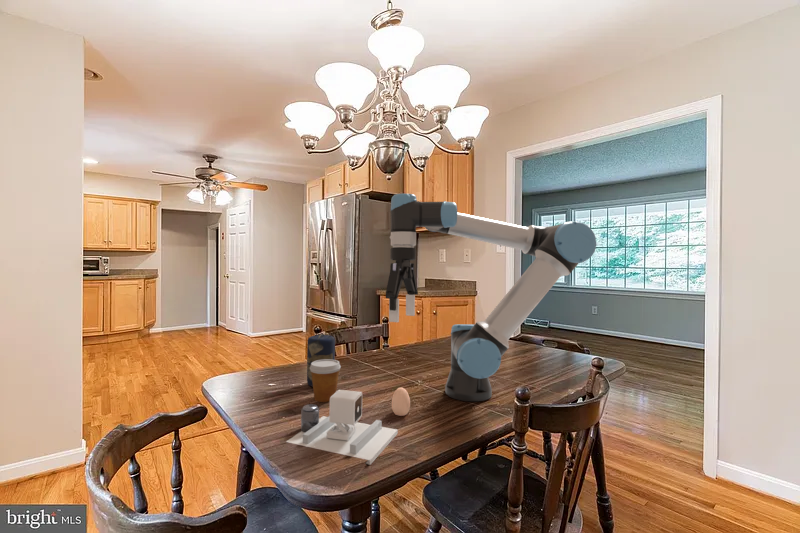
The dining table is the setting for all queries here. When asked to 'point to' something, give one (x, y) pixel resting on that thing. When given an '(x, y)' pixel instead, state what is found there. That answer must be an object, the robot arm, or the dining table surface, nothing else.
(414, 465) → the dining table surface
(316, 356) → the canister
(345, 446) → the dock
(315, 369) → the disposable coffee cup
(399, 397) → the egg
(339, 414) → the white rounded plastic box
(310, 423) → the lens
